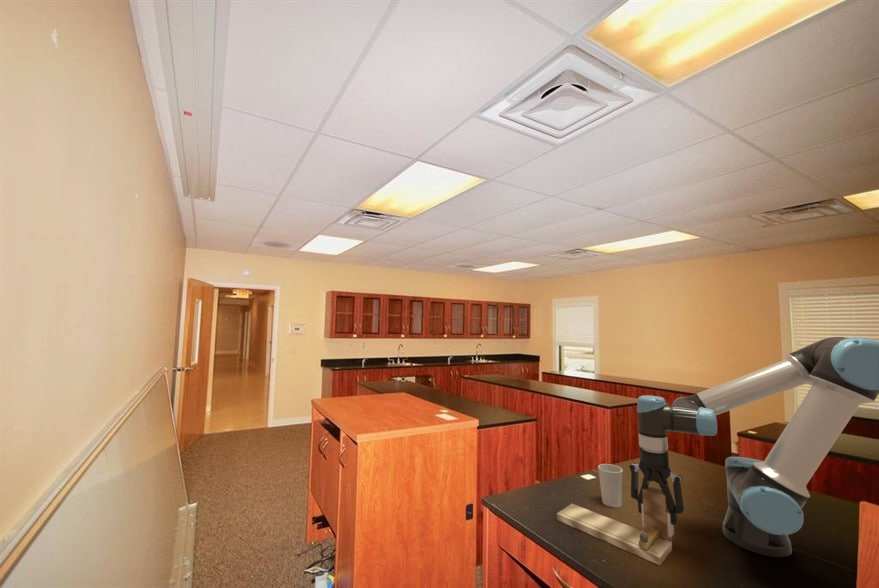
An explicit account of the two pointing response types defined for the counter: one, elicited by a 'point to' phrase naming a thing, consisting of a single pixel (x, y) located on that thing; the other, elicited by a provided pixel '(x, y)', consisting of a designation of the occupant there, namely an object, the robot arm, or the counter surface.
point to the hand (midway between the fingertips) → (657, 529)
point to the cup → (611, 484)
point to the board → (614, 533)
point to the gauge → (654, 517)
